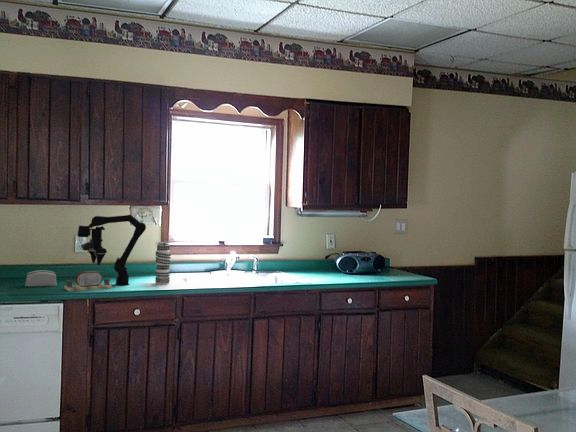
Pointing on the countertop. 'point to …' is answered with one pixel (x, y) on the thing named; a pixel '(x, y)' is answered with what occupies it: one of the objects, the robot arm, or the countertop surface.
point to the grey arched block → (41, 278)
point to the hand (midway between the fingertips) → (96, 264)
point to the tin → (88, 278)
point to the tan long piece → (80, 288)
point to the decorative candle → (162, 263)
